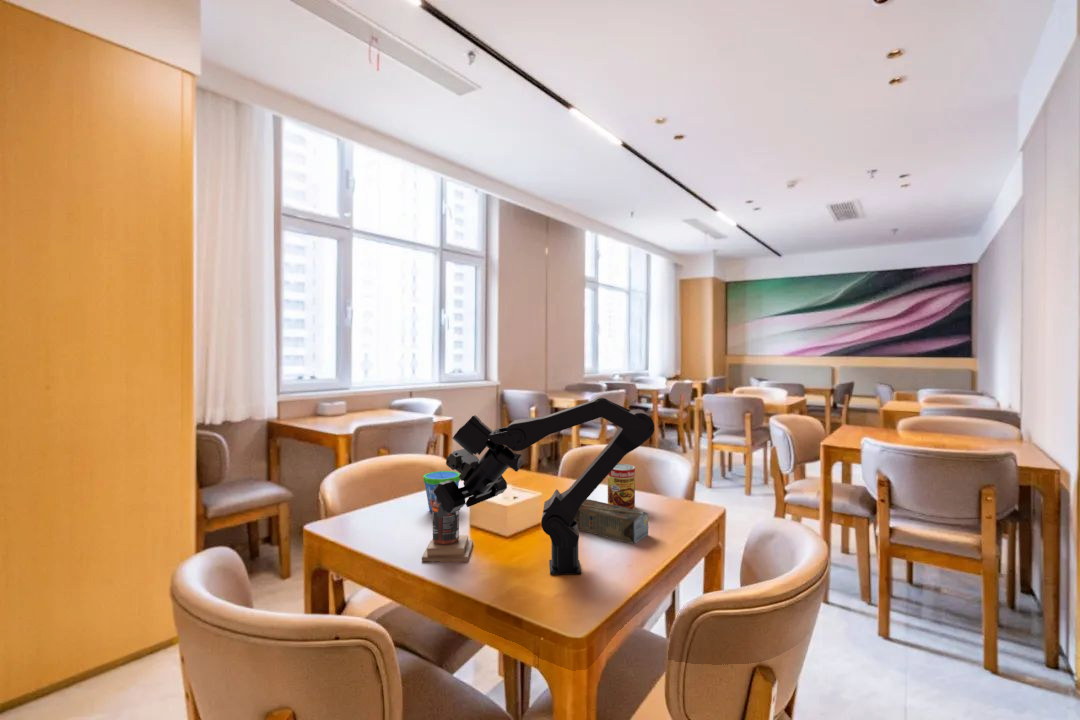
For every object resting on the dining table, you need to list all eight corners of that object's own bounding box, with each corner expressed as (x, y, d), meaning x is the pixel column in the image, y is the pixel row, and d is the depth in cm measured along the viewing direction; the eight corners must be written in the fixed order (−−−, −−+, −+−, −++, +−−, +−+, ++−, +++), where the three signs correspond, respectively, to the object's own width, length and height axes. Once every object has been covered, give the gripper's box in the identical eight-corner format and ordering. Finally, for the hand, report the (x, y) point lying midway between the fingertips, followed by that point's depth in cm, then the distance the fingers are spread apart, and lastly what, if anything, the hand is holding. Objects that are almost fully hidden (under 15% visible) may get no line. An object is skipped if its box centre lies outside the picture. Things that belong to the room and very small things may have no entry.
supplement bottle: (464, 540, 119) (464, 491, 119) (444, 548, 115) (444, 497, 114) (447, 534, 123) (447, 486, 123) (427, 541, 118) (426, 492, 118)
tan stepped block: (467, 561, 113) (467, 550, 113) (421, 561, 113) (421, 550, 113) (473, 544, 123) (473, 533, 123) (430, 544, 123) (430, 534, 123)
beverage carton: (634, 545, 123) (634, 517, 123) (567, 528, 135) (567, 503, 135) (649, 535, 129) (649, 509, 129) (584, 520, 141) (584, 496, 141)
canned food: (613, 512, 147) (613, 470, 147) (603, 504, 155) (603, 464, 155) (639, 510, 149) (639, 468, 149) (628, 502, 157) (628, 463, 156)
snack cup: (423, 503, 157) (423, 469, 157) (458, 500, 159) (458, 467, 159) (423, 519, 142) (423, 482, 141) (462, 516, 144) (462, 480, 144)
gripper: (496, 433, 122) (462, 474, 128) (439, 445, 107) (403, 491, 113) (524, 470, 118) (487, 510, 124) (468, 489, 102) (429, 534, 109)
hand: (453, 510), depth 118 cm, fingers open, 9 cm apart
